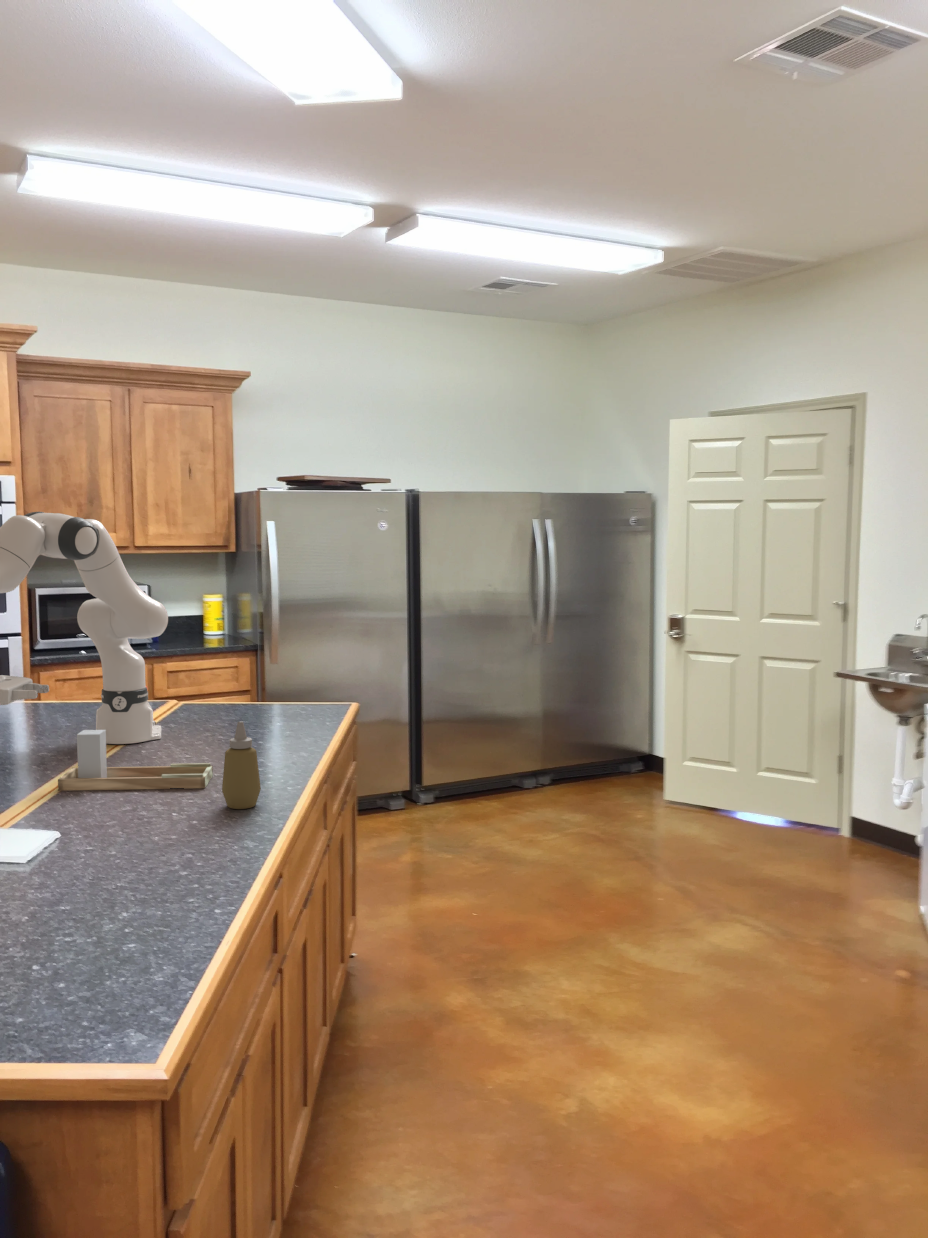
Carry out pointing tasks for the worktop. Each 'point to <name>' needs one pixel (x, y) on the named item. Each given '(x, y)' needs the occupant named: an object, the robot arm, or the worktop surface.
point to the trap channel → (142, 778)
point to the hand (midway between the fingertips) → (42, 691)
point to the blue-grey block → (92, 754)
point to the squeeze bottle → (241, 772)
